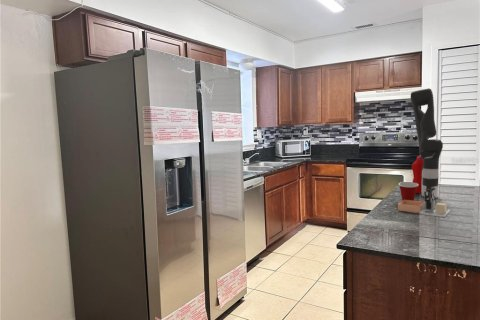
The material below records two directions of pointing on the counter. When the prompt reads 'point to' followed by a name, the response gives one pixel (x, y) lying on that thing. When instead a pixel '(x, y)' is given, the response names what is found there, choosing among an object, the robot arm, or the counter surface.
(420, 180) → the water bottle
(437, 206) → the beige wooden cube
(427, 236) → the counter surface
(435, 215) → the tray
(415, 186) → the plastic cup
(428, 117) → the robot arm
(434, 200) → the grey stacked cube
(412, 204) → the dish
